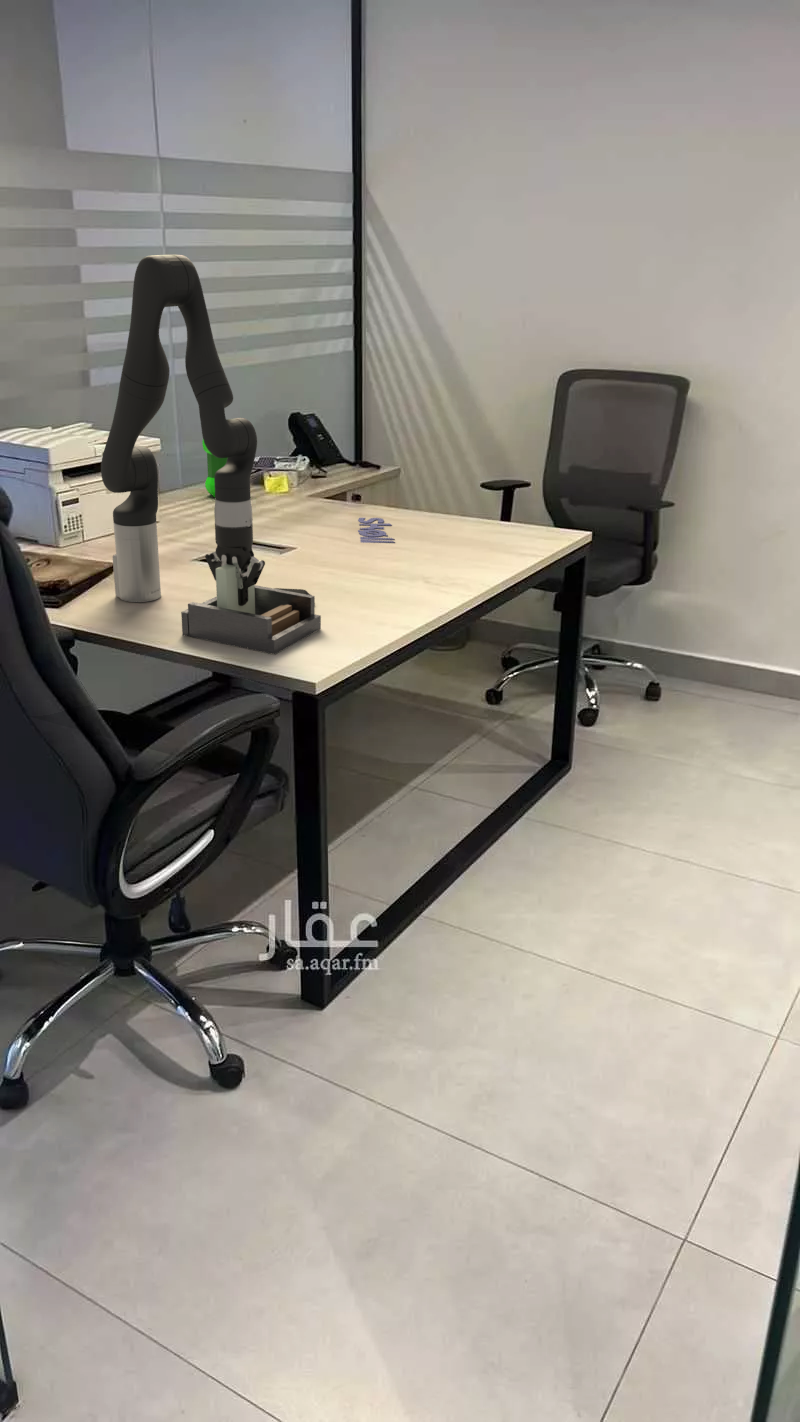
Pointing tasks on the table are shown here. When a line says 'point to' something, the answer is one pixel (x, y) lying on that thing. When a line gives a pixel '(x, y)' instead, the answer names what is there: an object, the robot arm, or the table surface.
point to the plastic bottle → (212, 469)
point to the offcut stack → (282, 618)
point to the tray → (252, 621)
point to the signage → (373, 531)
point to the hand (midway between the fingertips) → (236, 603)
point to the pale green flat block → (232, 590)
